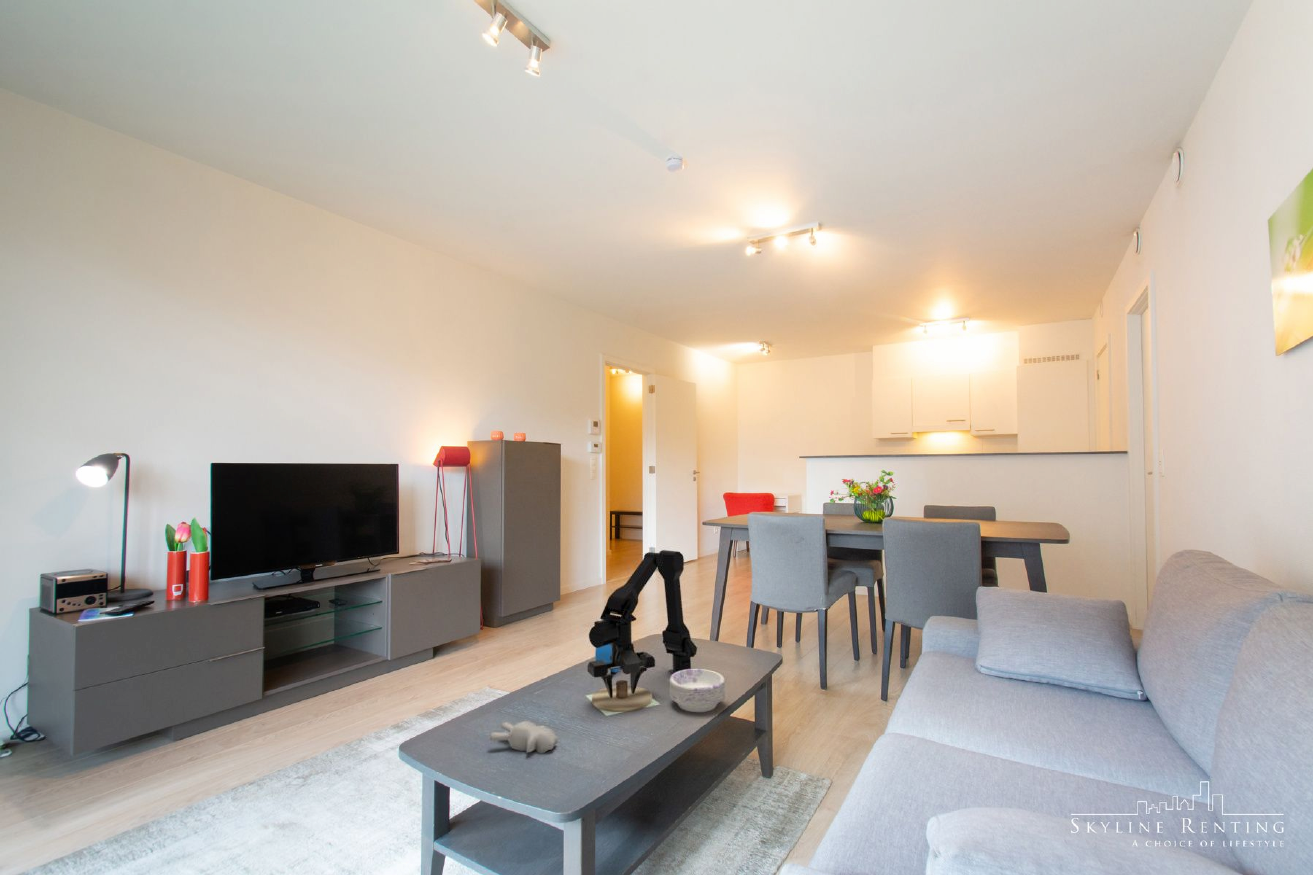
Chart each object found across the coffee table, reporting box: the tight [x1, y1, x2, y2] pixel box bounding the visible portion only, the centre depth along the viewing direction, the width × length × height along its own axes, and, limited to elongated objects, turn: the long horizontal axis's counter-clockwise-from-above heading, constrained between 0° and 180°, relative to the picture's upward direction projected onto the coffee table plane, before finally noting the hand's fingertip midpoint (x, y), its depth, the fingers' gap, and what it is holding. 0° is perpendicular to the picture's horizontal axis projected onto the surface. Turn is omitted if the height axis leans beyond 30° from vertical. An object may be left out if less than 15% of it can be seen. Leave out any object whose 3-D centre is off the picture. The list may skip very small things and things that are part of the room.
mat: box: [585, 685, 661, 717], centre depth 168 cm, size 16×16×1 cm
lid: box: [591, 679, 653, 713], centre depth 169 cm, size 17×17×5 cm
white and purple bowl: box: [669, 668, 726, 713], centre depth 165 cm, size 15×15×8 cm
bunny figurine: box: [489, 720, 559, 754], centre depth 142 cm, size 10×5×15 cm
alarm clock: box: [594, 644, 622, 673], centre depth 194 cm, size 13×6×15 cm, turn 165°
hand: (622, 695), depth 168 cm, fingers open, 6 cm apart
